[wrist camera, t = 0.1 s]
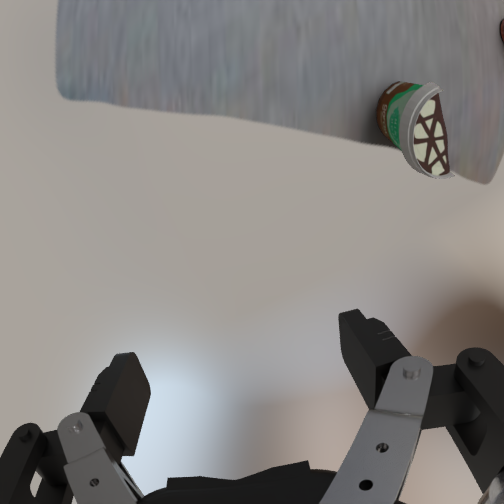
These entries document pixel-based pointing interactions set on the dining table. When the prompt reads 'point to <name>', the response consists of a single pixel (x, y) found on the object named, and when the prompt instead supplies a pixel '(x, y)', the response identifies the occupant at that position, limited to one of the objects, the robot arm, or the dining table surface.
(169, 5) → the dining table surface
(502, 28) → the supplement bottle
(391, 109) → the food container
